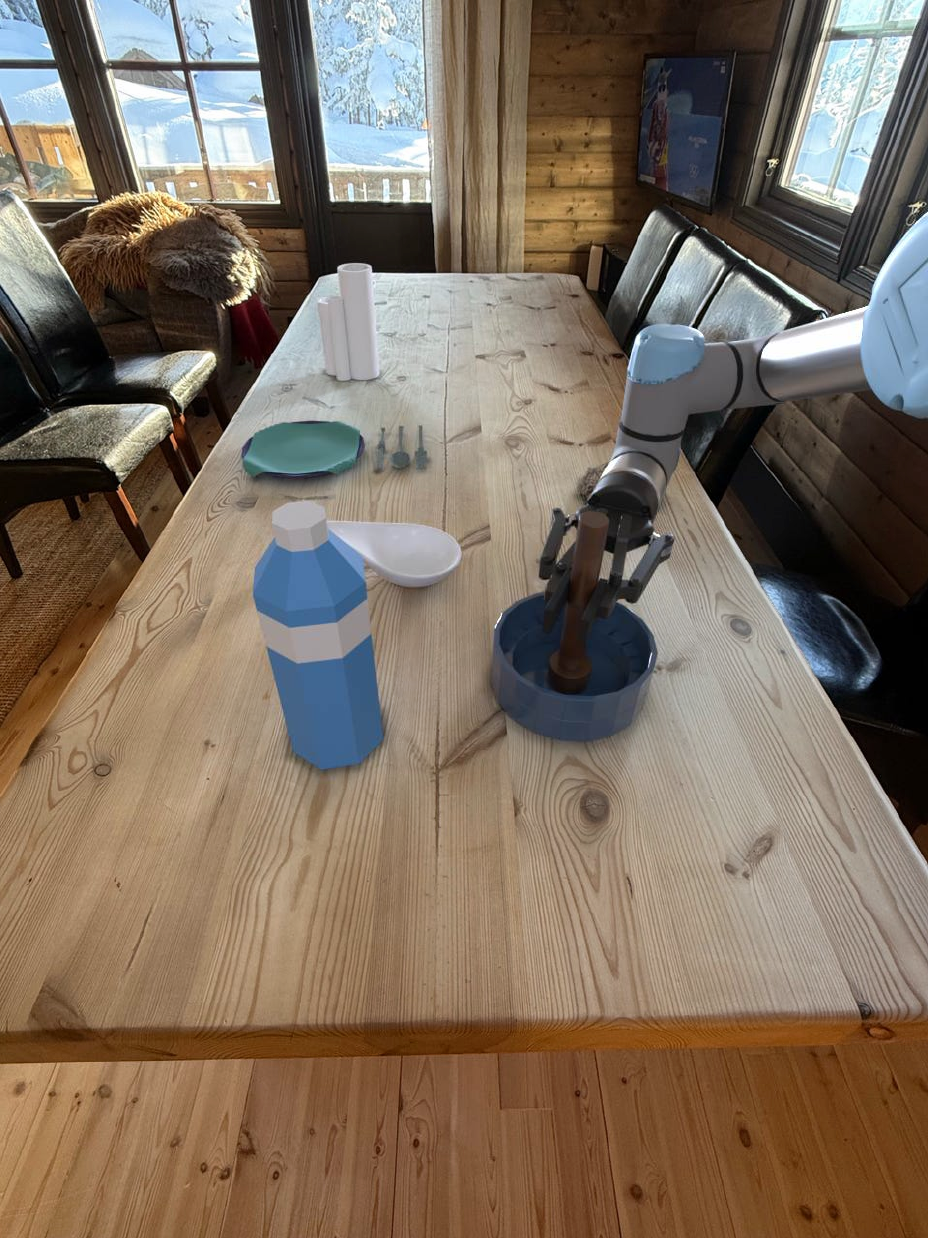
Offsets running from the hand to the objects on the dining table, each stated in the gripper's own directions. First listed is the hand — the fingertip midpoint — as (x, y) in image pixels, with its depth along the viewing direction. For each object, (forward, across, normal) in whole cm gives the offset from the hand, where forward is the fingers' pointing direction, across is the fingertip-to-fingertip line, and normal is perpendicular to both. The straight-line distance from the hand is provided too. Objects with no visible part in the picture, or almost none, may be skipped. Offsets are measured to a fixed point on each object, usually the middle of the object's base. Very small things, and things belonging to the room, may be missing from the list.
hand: (565, 627), depth 58 cm
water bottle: (+10, +19, -13) cm, 25 cm away
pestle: (-5, 0, -12) cm, 13 cm away
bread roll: (-48, +4, -13) cm, 50 cm away
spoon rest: (-14, +29, -13) cm, 34 cm away
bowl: (-5, 0, -13) cm, 14 cm away
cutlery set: (-40, +50, -13) cm, 65 cm away
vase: (-72, +66, -13) cm, 99 cm away
